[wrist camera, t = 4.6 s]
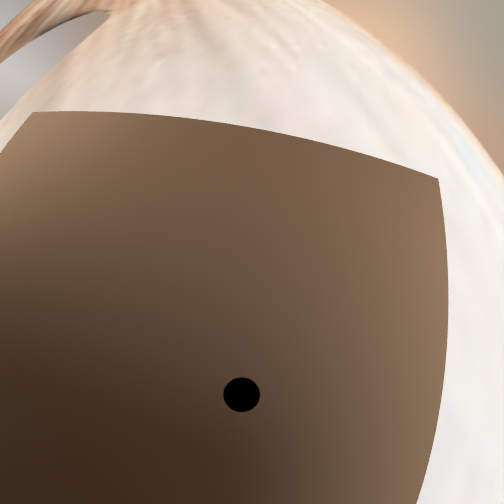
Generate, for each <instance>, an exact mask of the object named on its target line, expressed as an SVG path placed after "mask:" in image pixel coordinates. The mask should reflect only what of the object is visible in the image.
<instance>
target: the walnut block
mask: <svg viewBox="0 0 504 504" xmlns="http://www.w3.org/2000/svg"><path fill="white" fill-rule="evenodd" d="M447 332H448V267H447V249H446V237H445V226H444V217H443V209H442V201H441V194H440V188H439V182H438V179H437V178H435V177H432V176H429V175H426V174H424V173H421V172H418V171H415V170H412V169H409V168H407V167H404V166H401V165H398V164H394V163H391V162H388V161H385V160H382V159H379V158H375V157H372V156H369V155H365V154H362V153H358V152H355V151H351V150H348V149H344V148H340V147H336V146H333V145H329V144H325V143H321V142H317V141H313V140H308V139H304V138H300V137H295V136H291V135H286V134H281V133H276V132H271V131H266V130H261V129H255V128H250V127H244V126H238V125H232V124H226V123H219V122H212V121H205V120H197V119H189V118H181V117H171V116H161V115H149V114H136V113H119V112H88V111H59V112H33V113H32V114H31V115H30V116H29V117H28V119H27V120H26V121H25V122H24V123H23V125H22V126H21V127H20V128H19V129H18V131H17V132H16V133H15V134H14V136H13V137H12V138H11V140H10V141H9V142H8V143H7V145H6V146H5V147H4V149H3V150H2V152H1V153H0V504H416V503H417V500H418V497H419V493H420V490H421V487H422V484H423V480H424V477H425V473H426V470H427V466H428V462H429V458H430V454H431V450H432V445H433V441H434V436H435V431H436V426H437V421H438V415H439V409H440V403H441V396H442V389H443V381H444V372H445V362H446V349H447Z"/></svg>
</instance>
